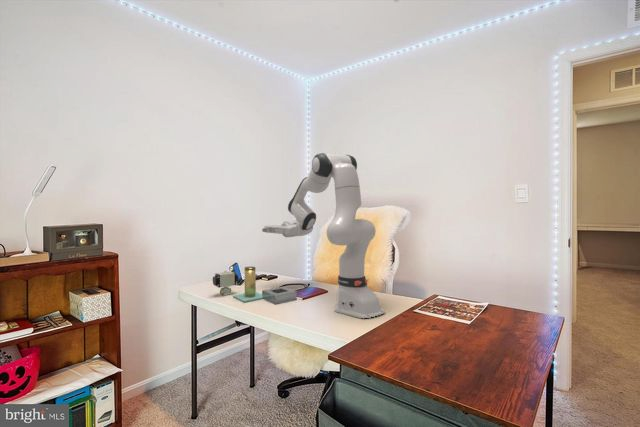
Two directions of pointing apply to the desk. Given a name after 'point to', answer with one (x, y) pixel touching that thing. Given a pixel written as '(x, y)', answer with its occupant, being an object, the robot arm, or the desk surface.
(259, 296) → the pad
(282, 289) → the housing
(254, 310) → the desk surface
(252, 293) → the brass cylinder
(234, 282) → the pneumatic valve
